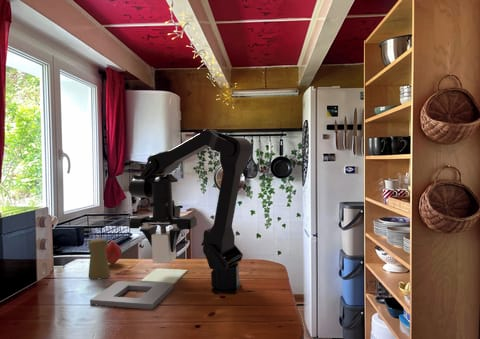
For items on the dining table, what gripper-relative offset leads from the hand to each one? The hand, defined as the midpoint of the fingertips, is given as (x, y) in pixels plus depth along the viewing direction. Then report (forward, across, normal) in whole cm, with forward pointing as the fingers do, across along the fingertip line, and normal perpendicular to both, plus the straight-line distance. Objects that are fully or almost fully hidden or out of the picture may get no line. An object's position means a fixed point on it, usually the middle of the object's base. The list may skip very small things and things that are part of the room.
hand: (164, 251), depth 97 cm
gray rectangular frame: (+7, +2, +14) cm, 16 cm away
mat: (+7, 0, 0) cm, 7 cm away
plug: (+2, 0, 0) cm, 2 cm away
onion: (+7, +22, -8) cm, 25 cm away
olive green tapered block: (+8, +20, +2) cm, 22 cm away
